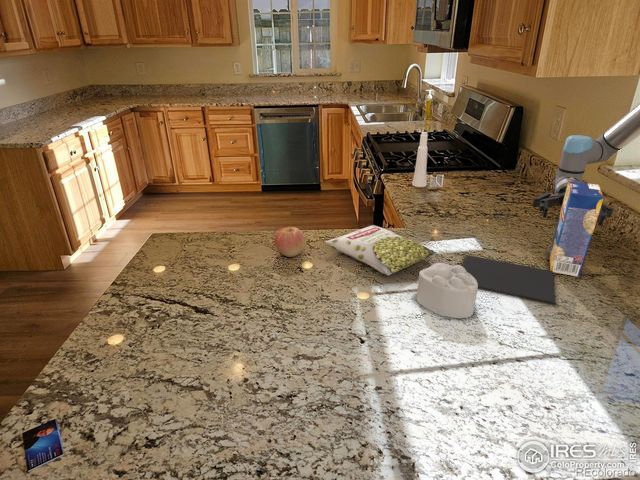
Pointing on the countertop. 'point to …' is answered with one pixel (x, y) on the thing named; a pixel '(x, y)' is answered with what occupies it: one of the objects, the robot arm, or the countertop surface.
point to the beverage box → (575, 227)
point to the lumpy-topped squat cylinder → (447, 290)
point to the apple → (289, 241)
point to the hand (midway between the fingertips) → (573, 216)
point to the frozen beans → (381, 249)
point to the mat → (511, 278)
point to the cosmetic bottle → (421, 163)
